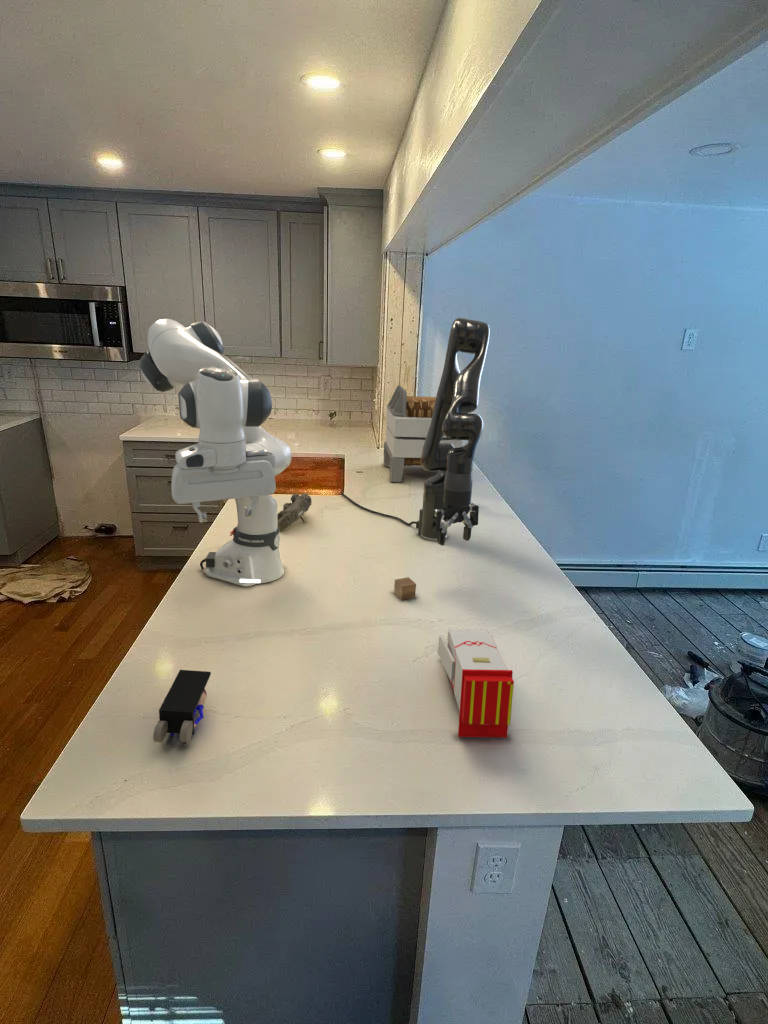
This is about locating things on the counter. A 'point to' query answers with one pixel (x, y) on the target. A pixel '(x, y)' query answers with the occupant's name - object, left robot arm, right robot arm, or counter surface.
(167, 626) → the counter surface
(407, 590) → the brown wooden cube
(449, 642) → the toy
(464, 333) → the right robot arm
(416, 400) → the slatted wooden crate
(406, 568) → the counter surface
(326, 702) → the counter surface
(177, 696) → the figurine character
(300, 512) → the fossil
